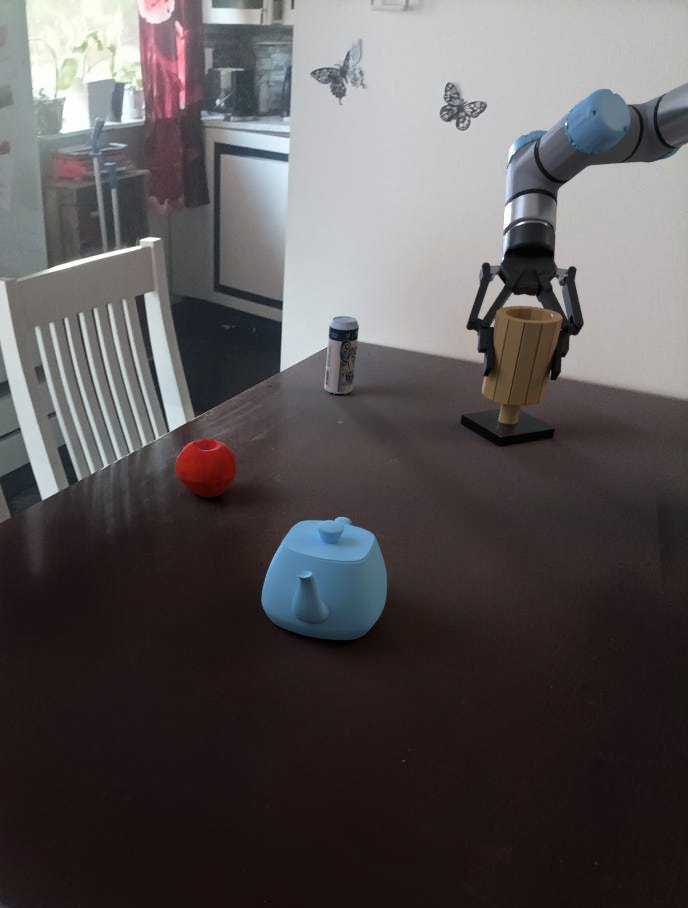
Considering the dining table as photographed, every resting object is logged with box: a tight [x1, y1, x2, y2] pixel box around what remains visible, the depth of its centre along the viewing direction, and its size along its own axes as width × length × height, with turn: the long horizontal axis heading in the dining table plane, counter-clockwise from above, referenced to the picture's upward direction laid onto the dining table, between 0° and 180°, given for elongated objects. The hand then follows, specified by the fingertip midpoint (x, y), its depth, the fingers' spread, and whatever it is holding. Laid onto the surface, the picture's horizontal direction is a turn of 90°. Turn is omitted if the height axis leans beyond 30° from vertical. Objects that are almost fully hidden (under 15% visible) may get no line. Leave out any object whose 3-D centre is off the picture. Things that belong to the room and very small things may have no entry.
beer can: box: [323, 315, 360, 395], centre depth 151 cm, size 5×5×12 cm
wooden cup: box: [481, 305, 563, 407], centre depth 133 cm, size 9×9×12 cm
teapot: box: [260, 516, 388, 641], centre depth 92 cm, size 13×11×18 cm
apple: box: [174, 438, 237, 498], centre depth 118 cm, size 8×8×7 cm
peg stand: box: [459, 403, 556, 447], centre depth 137 cm, size 10×10×10 cm
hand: (521, 374), depth 132 cm, fingers closed on wooden cup, 9 cm apart
